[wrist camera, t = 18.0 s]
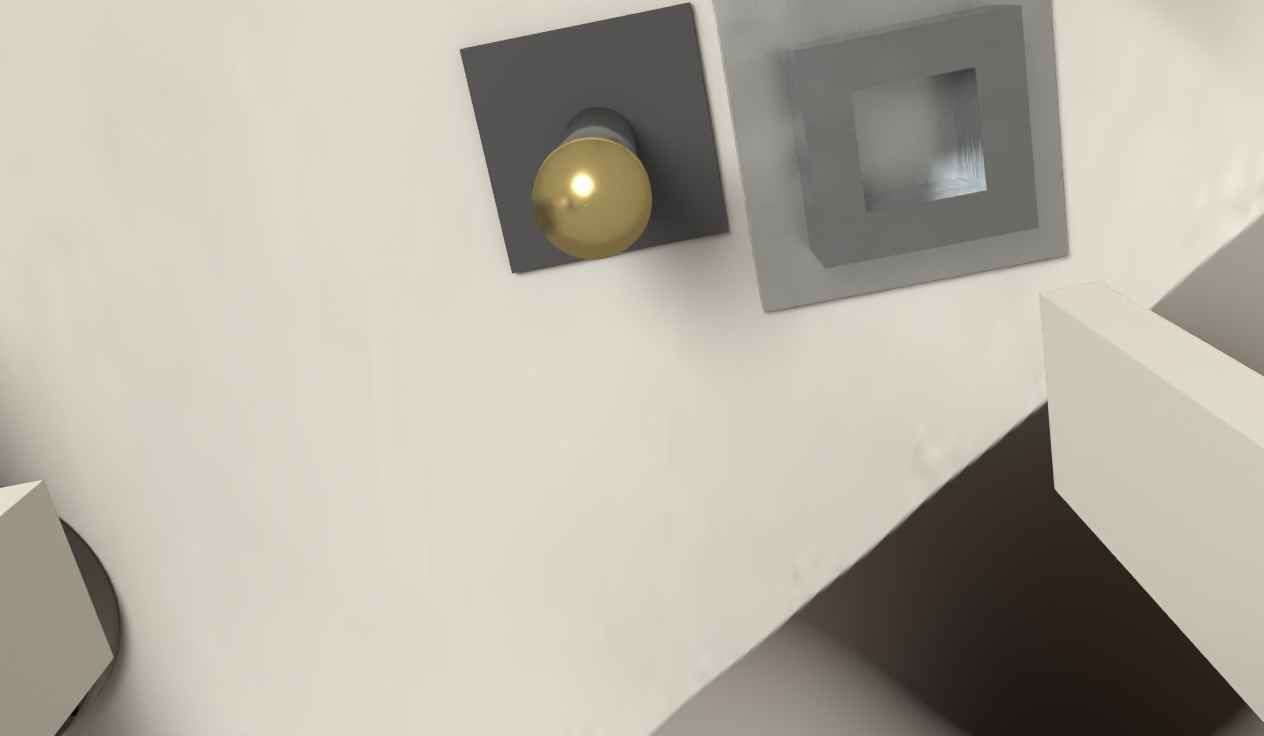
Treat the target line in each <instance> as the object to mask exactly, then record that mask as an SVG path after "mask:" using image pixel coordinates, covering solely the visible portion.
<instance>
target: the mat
mask: <svg viewBox="0 0 1264 736" xmlns="http://www.w3.org/2000/svg"><path fill="white" fill-rule="evenodd" d="M460 53H461V57H462V61H463V65H464V70H465V74H466V78H467V82H468V87H469V91H470V95H471V100H472V104H473V108H474V112H475V117H476V121H477V125H478V130H479V134H480V138H481V142H482V147H483V151H484V155H485V159H486V164H487V168H488V172H489V177H490V181H491V185H492V189H493V194H494V198H495V202H496V207H497V211H498V215H499V219H500V224H501V228H502V232H503V236H504V241H505V245H506V249H507V254H508V258H509V262H510V266H511V271H512V273H517V272H522V271H527V270H532V269H537V268H543V267H548V266H553V265H558V264H563V263H568V262H574V261H579V260H584V258H578V257H575V256H572V255H569V254H567V253H565V252H563V251H561V250H560V249H558V248H557V247H556V246H554V245H553V244H552V243H551V242H550V241H549V240H548V239H547V238H546V237H545V235H544V234H543V233H542V231H541V230H540V228H539V226H538V224H537V222H536V219H535V216H534V212H533V206H532V192H533V186H534V182H535V179H536V176H537V174H538V172H539V169H540V168H541V166H542V164H543V162H544V161H545V159H546V158H547V157H548V156H549V155H550V154H551V153H552V152H553V151H554V150H555V149H556V148H557V147H559V144H560V142H561V139H562V136H563V134H564V131H565V129H566V127H567V125H568V123H569V122H570V120H571V119H572V118H573V117H574V116H575V115H577V114H578V113H579V112H581V111H583V110H585V109H588V108H592V107H605V108H609V109H612V110H614V111H616V112H618V113H619V114H621V115H622V116H623V117H624V118H625V119H626V120H627V121H628V123H629V124H630V126H631V128H632V130H633V133H634V137H635V144H636V152H637V157H638V159H639V160H640V161H641V163H642V164H643V166H644V168H645V170H646V172H647V175H648V178H649V181H650V186H651V193H652V207H651V213H650V217H649V220H648V223H647V225H646V227H645V229H644V231H643V232H642V234H641V235H640V236H639V238H638V239H637V240H636V241H635V242H634V243H633V244H632V245H631V246H629V247H628V248H627V249H625V250H624V251H622V252H625V251H631V250H636V249H641V248H646V247H651V246H656V245H662V244H667V243H672V242H677V241H682V240H688V239H693V238H698V237H703V236H708V235H713V234H719V233H724V232H728V226H727V220H726V214H725V208H724V203H723V197H722V191H721V185H720V179H719V173H718V167H717V161H716V155H715V149H714V143H713V137H712V131H711V125H710V119H709V113H708V107H707V101H706V95H705V89H704V84H703V78H702V72H701V66H700V60H699V54H698V48H697V42H696V36H695V30H694V24H693V18H692V12H691V6H690V3H685V4H680V5H675V6H670V7H665V8H660V9H655V10H650V11H646V12H641V13H636V14H631V15H626V16H621V17H616V18H611V19H606V20H601V21H596V22H591V23H587V24H582V25H577V26H572V27H567V28H562V29H557V30H552V31H547V32H542V33H537V34H532V35H528V36H523V37H518V38H513V39H508V40H503V41H498V42H493V43H488V44H483V45H478V46H473V47H469V48H464V49H460Z"/></svg>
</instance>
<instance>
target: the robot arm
mask: <svg viewBox="0 0 1264 736" xmlns="http://www.w3.org/2000/svg"><path fill="white" fill-rule="evenodd" d="M1039 296H1040V309H1041V321H1042V334H1043V347H1044V359H1045V372H1046V384H1047V397H1048V410H1049V422H1050V434H1051V446H1052V460H1053V473H1054V485H1055V490H1057V492H1058V493H1059V494H1060V495H1061V496H1062V497H1063V498H1064V500H1065V501H1066V502H1067V503H1068V504H1069V505H1070V506H1071V508H1072V509H1073V510H1074V511H1075V512H1076V513H1077V514H1078V515H1079V516H1080V518H1081V519H1082V520H1083V521H1084V522H1085V523H1086V524H1087V525H1088V527H1089V528H1090V529H1091V530H1092V531H1093V532H1094V533H1095V534H1096V535H1097V537H1098V538H1099V539H1100V540H1101V541H1102V542H1103V543H1104V544H1105V545H1106V547H1107V548H1108V549H1109V550H1110V551H1111V552H1112V553H1113V554H1114V555H1115V556H1116V558H1117V559H1118V560H1119V561H1120V562H1121V563H1122V564H1123V565H1124V567H1125V568H1126V569H1127V570H1128V571H1129V572H1130V573H1131V574H1132V576H1133V577H1134V578H1135V579H1136V580H1137V581H1138V582H1139V583H1140V585H1141V586H1142V587H1143V588H1144V589H1145V590H1146V591H1147V592H1148V593H1149V594H1150V596H1151V597H1152V598H1153V599H1154V600H1155V601H1156V602H1157V604H1158V605H1159V606H1160V607H1161V608H1162V609H1163V610H1164V611H1165V612H1166V613H1167V615H1168V616H1169V617H1170V618H1171V619H1172V620H1173V621H1174V622H1175V624H1176V625H1178V627H1179V628H1180V629H1181V630H1182V631H1183V632H1184V633H1185V635H1186V636H1187V637H1188V638H1189V639H1190V640H1191V641H1192V642H1193V644H1194V645H1195V646H1196V647H1197V648H1198V649H1199V650H1200V652H1201V653H1202V654H1203V655H1204V656H1205V657H1206V658H1207V659H1208V660H1209V662H1210V663H1212V665H1213V666H1214V667H1215V668H1216V669H1217V670H1218V672H1219V673H1220V674H1221V675H1222V676H1223V677H1224V678H1225V679H1226V681H1227V682H1228V683H1229V684H1230V685H1231V686H1232V687H1233V688H1234V689H1235V691H1236V692H1237V693H1238V694H1239V695H1240V696H1241V697H1242V698H1243V699H1244V701H1245V702H1246V703H1247V704H1248V705H1249V706H1250V707H1251V708H1252V710H1253V711H1254V712H1255V713H1256V714H1257V715H1258V716H1259V717H1260V718H1261V720H1262V721H1263V722H1264V376H1262V375H1260V374H1258V373H1257V372H1255V371H1253V370H1252V369H1250V368H1248V367H1246V366H1245V365H1243V364H1241V363H1240V362H1238V361H1236V360H1234V359H1232V358H1231V357H1229V356H1228V355H1226V354H1224V353H1222V352H1221V351H1219V350H1217V349H1216V348H1214V347H1212V346H1210V345H1209V344H1207V343H1205V342H1203V341H1202V340H1200V339H1198V338H1197V337H1195V336H1193V335H1191V334H1190V333H1188V332H1186V331H1185V330H1183V329H1181V328H1179V327H1178V326H1176V325H1174V324H1173V323H1171V322H1169V321H1167V320H1166V319H1164V318H1162V317H1161V316H1159V315H1157V314H1155V313H1154V312H1152V311H1150V310H1149V309H1147V308H1145V307H1143V306H1142V305H1140V304H1138V303H1137V302H1135V301H1133V300H1131V299H1130V298H1128V297H1126V296H1124V295H1123V294H1121V293H1119V292H1118V291H1116V290H1114V289H1112V288H1111V287H1109V286H1107V285H1106V284H1104V283H1102V282H1100V281H1099V282H1094V283H1088V284H1083V285H1078V286H1072V287H1067V288H1062V289H1056V290H1051V291H1046V292H1040V293H1039ZM118 646H119V616H118V610H117V606H116V602H115V598H114V595H113V592H112V589H111V586H110V584H109V582H108V579H107V577H106V575H105V573H104V572H103V570H102V568H101V566H100V565H99V563H98V561H97V560H96V558H95V557H94V556H93V554H92V553H91V551H90V550H89V549H88V548H87V546H86V545H85V544H84V543H83V542H82V540H81V539H80V538H79V537H78V536H77V535H76V534H75V533H74V532H73V531H72V530H71V529H70V528H69V527H67V526H66V525H65V524H64V523H63V522H62V521H60V520H59V518H58V515H57V513H56V510H55V508H54V505H53V503H52V500H51V497H50V495H49V492H48V490H47V487H46V485H45V482H44V480H40V481H35V482H29V483H24V484H19V485H13V486H8V487H3V488H1V487H0V736H62V735H63V734H64V733H65V732H67V731H68V730H69V729H70V728H71V727H72V726H73V725H74V724H75V723H76V722H77V721H78V720H79V719H80V717H81V716H82V715H83V714H84V712H85V711H86V710H87V708H88V707H89V706H90V704H91V703H92V702H93V700H94V699H95V698H96V696H97V695H98V694H99V692H100V691H101V690H102V688H103V687H104V685H105V683H106V682H107V680H108V678H109V676H110V674H111V672H112V669H113V666H114V664H115V660H116V657H117V652H118Z"/></svg>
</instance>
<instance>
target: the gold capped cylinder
mask: <svg viewBox="0 0 1264 736" xmlns="http://www.w3.org/2000/svg"><path fill="white" fill-rule="evenodd" d="M532 206H533V212H534V216H535V219H536V222H537V224H538V226H539V228H540V230H541V231H542V233H543V234H544V235H545V237H546V238H547V239H548V240H549V241H550V242H551V243H552V244H553V245H554V246H556V247H557V248H558V249H560V250H561V251H563V252H565V253H567V254H569V255H572V256H575V257H578V258H584V259H602V258H607V257H610V256H613V255H616V254H618V253H620V252H622V251H624V250H625V249H627V248H628V247H629V246H631V245H632V244H633V243H634V242H635V241H636V240H637V239H638V238H639V236H640V235H641V234H642V232H643V231H644V229H645V227H646V225H647V223H648V220H649V217H650V213H651V207H652V193H651V186H650V181H649V178H648V175H647V172H646V170H645V168H644V166H643V164H642V163H641V161H640V160H639V159H638V157H637V152H636V144H635V137H634V133H633V130H632V128H631V126H630V124H629V123H628V121H627V120H626V119H625V118H624V117H623V116H622V115H621V114H619V113H618V112H616V111H614V110H612V109H609V108H605V107H592V108H588V109H585V110H583V111H581V112H579V113H578V114H577V115H575V116H574V117H573V118H572V119H571V120H570V122H569V123H568V125H567V127H566V129H565V131H564V134H563V136H562V139H561V142H560V144H559V147H557V148H556V149H555V150H554V151H553V152H552V153H551V154H550V155H549V156H548V157H547V158H546V159H545V161H544V162H543V164H542V166H541V168H540V169H539V172H538V174H537V176H536V179H535V182H534V186H533V192H532Z"/></svg>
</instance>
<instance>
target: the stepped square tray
mask: <svg viewBox="0 0 1264 736" xmlns="http://www.w3.org/2000/svg"><path fill="white" fill-rule="evenodd" d="M712 1H713V7H714V13H715V19H716V26H717V32H718V38H719V44H720V50H721V57H722V63H723V69H724V75H725V81H726V87H727V94H728V100H729V106H730V112H731V118H732V125H733V131H734V137H735V143H736V149H737V155H738V162H739V168H740V174H741V180H742V186H743V192H744V199H745V205H746V211H747V217H748V223H749V230H750V236H751V242H752V248H753V254H754V260H755V267H756V273H757V279H758V285H759V291H760V298H761V304H762V309H763V311H764V312H770V311H775V310H780V309H786V308H791V307H796V306H801V305H807V304H812V303H817V302H823V301H828V300H833V299H838V298H844V297H849V296H854V295H859V294H865V293H870V292H875V291H881V290H886V289H891V288H896V287H902V286H907V285H912V284H918V283H923V282H928V281H933V280H939V279H944V278H949V277H955V276H960V275H965V274H970V273H976V272H981V271H986V270H992V269H997V268H1002V267H1007V266H1013V265H1018V264H1023V263H1029V262H1034V261H1039V260H1044V259H1050V258H1055V257H1060V256H1066V255H1068V243H1067V228H1066V214H1065V200H1064V185H1063V171H1062V157H1061V142H1060V128H1059V113H1058V99H1057V85H1056V70H1055V56H1054V42H1053V27H1052V13H1051V0H712Z"/></svg>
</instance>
